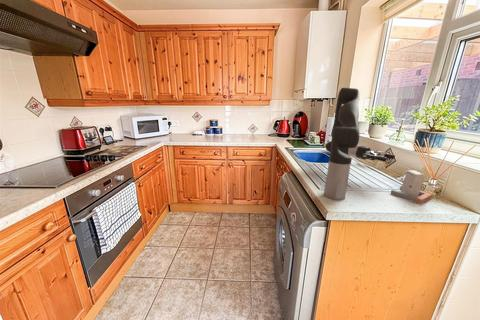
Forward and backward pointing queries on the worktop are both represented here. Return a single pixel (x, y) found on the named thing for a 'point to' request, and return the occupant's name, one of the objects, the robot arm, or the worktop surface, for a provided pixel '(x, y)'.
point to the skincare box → (412, 182)
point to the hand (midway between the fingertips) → (390, 158)
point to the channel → (422, 196)
